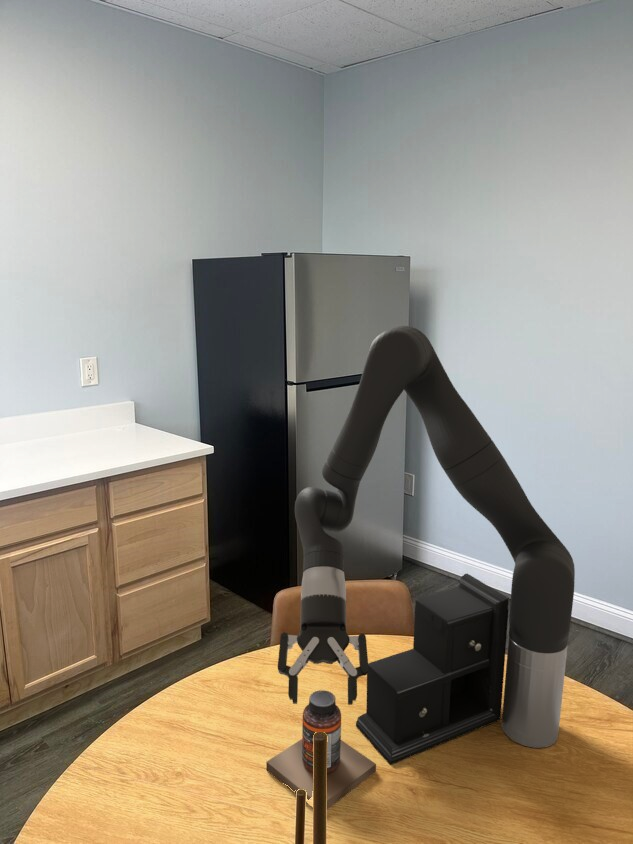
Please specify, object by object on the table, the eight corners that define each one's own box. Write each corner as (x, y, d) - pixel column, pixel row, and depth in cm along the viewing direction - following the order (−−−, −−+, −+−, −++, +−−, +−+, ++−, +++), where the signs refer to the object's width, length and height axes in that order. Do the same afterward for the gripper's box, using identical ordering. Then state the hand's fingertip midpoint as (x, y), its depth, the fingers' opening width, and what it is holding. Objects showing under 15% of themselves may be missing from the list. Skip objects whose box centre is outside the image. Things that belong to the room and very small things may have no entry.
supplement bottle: (293, 762, 103) (294, 697, 101) (319, 743, 107) (320, 680, 105) (322, 782, 99) (323, 715, 97) (348, 761, 103) (349, 696, 101)
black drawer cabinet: (390, 766, 105) (395, 631, 100) (354, 726, 114) (357, 600, 109) (502, 722, 116) (512, 597, 110) (460, 688, 125) (468, 572, 120)
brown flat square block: (321, 734, 112) (321, 726, 111) (375, 772, 103) (376, 763, 103) (266, 769, 104) (266, 761, 103) (320, 814, 95) (320, 805, 95)
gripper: (279, 591, 108) (275, 698, 100) (367, 592, 108) (370, 699, 99) (281, 606, 115) (277, 707, 106) (364, 606, 114) (367, 708, 106)
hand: (322, 703), depth 103 cm, fingers open, 8 cm apart
